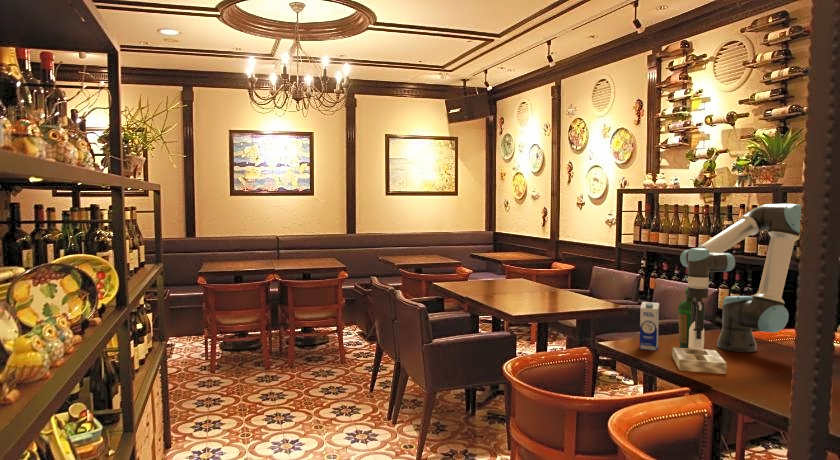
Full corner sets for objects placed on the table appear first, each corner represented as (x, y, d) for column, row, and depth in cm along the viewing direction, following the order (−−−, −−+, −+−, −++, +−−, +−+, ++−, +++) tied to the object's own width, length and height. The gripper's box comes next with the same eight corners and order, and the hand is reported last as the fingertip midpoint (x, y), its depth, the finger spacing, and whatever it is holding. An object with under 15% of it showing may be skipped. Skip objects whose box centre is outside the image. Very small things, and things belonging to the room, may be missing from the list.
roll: (685, 317, 239) (698, 316, 240) (685, 346, 239) (697, 346, 240) (695, 320, 233) (708, 319, 234) (694, 350, 233) (707, 349, 234)
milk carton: (658, 347, 260) (659, 302, 259) (656, 351, 254) (657, 304, 253) (641, 345, 263) (642, 301, 262) (639, 349, 257) (640, 303, 256)
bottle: (682, 346, 263) (684, 283, 262) (707, 350, 256) (709, 285, 255) (672, 350, 256) (674, 285, 255) (698, 354, 248) (700, 288, 247)
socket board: (715, 360, 240) (715, 350, 240) (726, 374, 220) (726, 363, 220) (672, 356, 244) (672, 347, 244) (679, 370, 224) (679, 359, 224)
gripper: (684, 283, 246) (682, 339, 247) (691, 290, 228) (689, 349, 229) (703, 284, 244) (702, 340, 245) (712, 290, 225) (711, 351, 226)
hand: (696, 344), depth 237 cm, fingers closed on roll, 6 cm apart
